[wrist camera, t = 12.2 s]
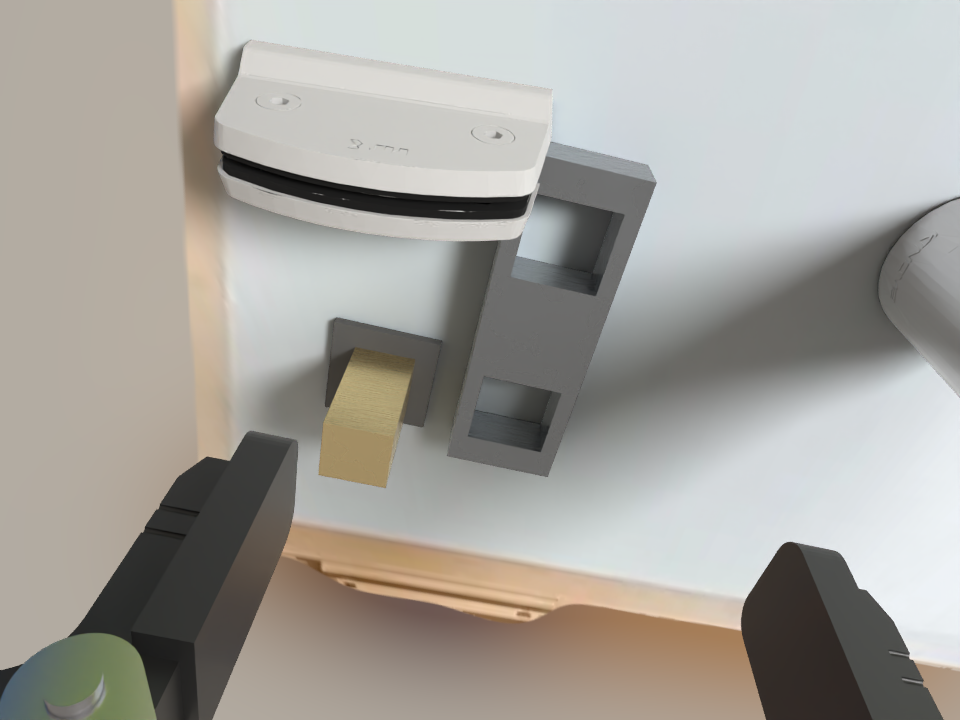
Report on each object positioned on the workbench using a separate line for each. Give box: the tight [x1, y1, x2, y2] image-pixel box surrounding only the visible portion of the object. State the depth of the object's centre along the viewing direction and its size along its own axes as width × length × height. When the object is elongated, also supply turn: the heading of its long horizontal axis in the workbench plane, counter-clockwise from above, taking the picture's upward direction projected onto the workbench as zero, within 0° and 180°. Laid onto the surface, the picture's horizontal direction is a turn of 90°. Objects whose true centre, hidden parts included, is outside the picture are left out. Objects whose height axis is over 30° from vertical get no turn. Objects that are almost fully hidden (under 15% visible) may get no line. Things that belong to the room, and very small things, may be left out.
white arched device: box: [214, 40, 553, 241], centre depth 33 cm, size 17×5×10 cm, turn 82°
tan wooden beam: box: [319, 347, 415, 488], centre depth 42 cm, size 4×4×8 cm
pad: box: [325, 318, 442, 427], centre depth 45 cm, size 7×7×1 cm
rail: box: [447, 142, 657, 477], centre depth 41 cm, size 7×21×3 cm, turn 168°
